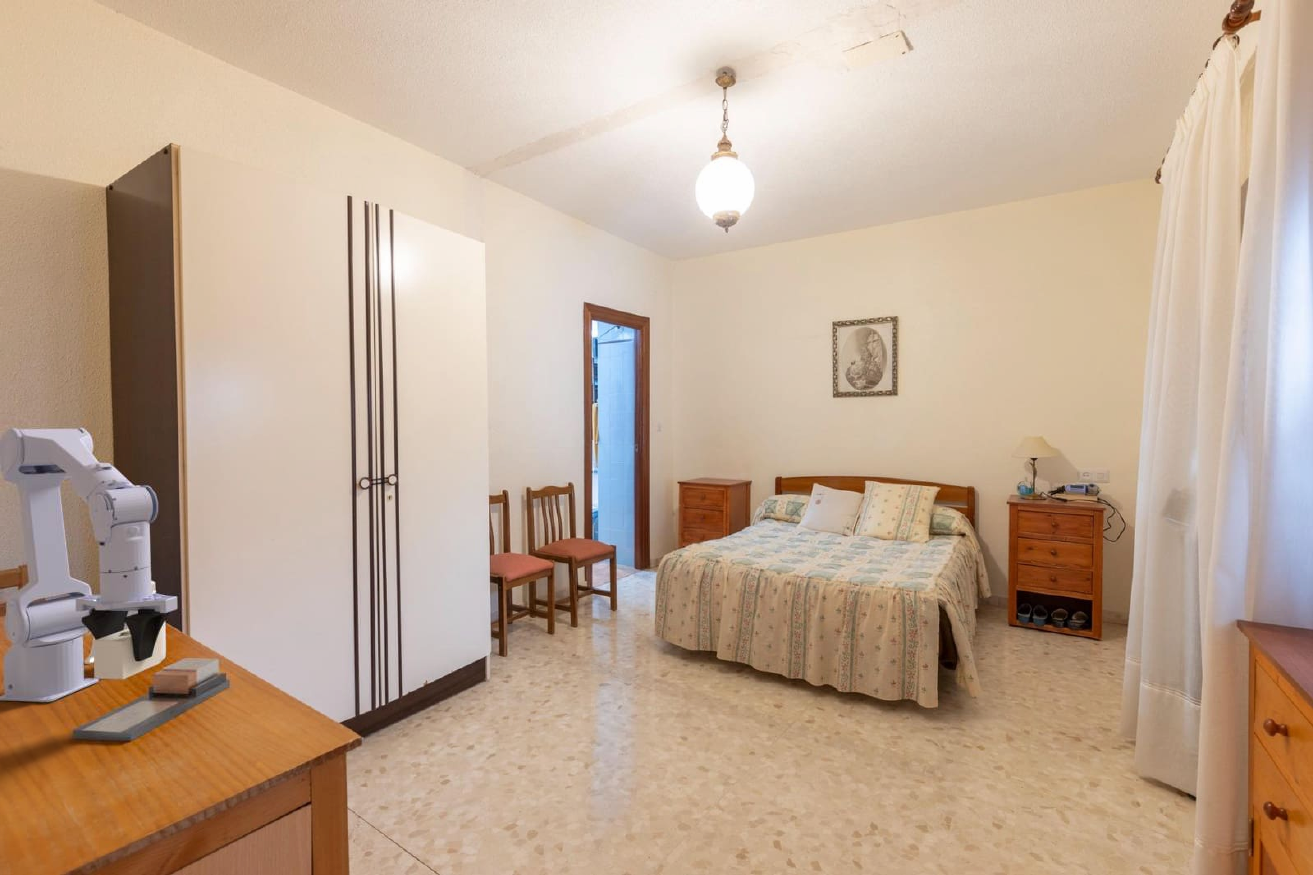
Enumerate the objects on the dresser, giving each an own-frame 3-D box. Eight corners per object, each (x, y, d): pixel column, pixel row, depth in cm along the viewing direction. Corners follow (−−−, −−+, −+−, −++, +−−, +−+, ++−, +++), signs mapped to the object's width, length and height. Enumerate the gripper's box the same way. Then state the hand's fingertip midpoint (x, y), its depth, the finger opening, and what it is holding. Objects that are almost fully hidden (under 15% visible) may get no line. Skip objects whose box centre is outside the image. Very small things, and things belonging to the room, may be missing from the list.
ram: (153, 694, 96) (153, 672, 96) (186, 678, 102) (185, 658, 102) (188, 695, 95) (187, 673, 95) (219, 679, 101) (218, 659, 101)
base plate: (72, 738, 85) (72, 721, 85) (180, 684, 102) (180, 671, 102) (131, 741, 84) (130, 724, 84) (229, 686, 102) (229, 672, 102)
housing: (94, 678, 87) (93, 639, 87) (133, 662, 93) (132, 625, 93) (123, 679, 86) (122, 640, 86) (160, 662, 92) (159, 626, 92)
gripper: (52, 574, 86) (55, 668, 86) (145, 575, 85) (148, 670, 85) (101, 563, 93) (104, 649, 93) (188, 564, 92) (190, 651, 92)
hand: (128, 658), depth 90 cm, fingers closed on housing, 4 cm apart
